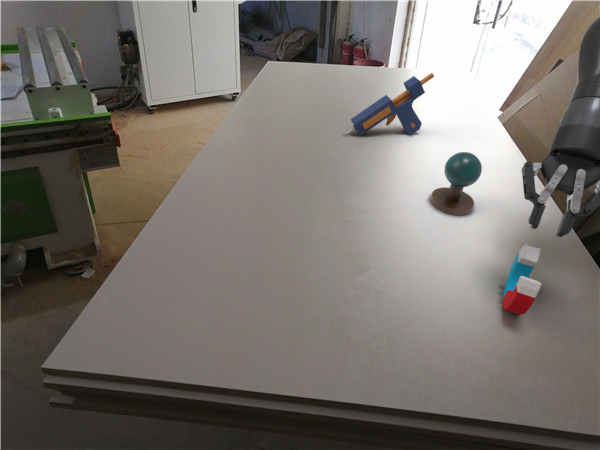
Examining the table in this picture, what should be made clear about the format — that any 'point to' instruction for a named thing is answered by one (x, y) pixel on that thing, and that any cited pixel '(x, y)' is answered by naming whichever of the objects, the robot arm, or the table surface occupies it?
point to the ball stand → (457, 184)
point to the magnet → (521, 282)
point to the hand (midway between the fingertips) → (547, 231)
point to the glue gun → (393, 109)
